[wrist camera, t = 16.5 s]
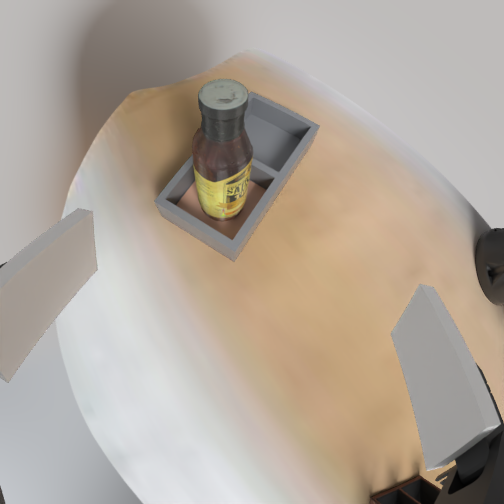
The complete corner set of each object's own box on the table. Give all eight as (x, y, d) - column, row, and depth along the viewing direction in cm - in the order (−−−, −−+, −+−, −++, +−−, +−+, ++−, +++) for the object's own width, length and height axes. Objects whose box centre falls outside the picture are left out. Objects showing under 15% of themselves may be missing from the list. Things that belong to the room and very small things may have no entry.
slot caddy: (311, 144, 45) (319, 125, 40) (234, 261, 39) (235, 251, 34) (248, 111, 46) (251, 91, 41) (162, 216, 39) (154, 201, 35)
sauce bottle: (233, 230, 38) (240, 137, 19) (191, 212, 39) (165, 113, 20) (253, 190, 40) (273, 84, 21) (212, 174, 40) (206, 65, 21)
